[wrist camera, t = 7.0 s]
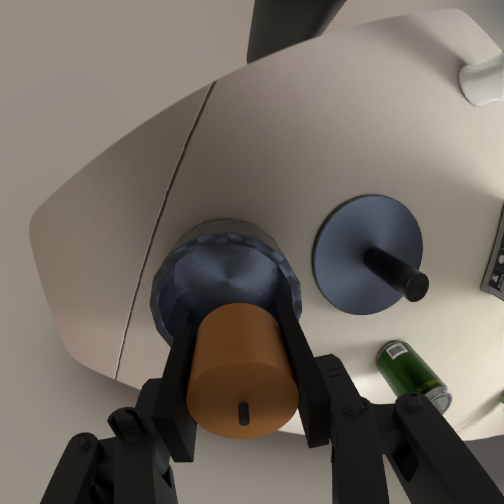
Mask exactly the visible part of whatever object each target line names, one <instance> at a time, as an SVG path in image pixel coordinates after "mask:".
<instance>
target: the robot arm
mask: <svg viewBox="0 0 504 504" xmlns="http://www.w3.org/2000/svg"><path fill="white" fill-rule="evenodd" d="M279 322H280V331H281V335H282V338H283V341H284V344H285V347H286V351H287V354H288V357H289V360H290V363H291V367H292V370H293V373H294V376H295V379H296V383H297V386H298V389H299V405H298V411H299V414H300V418H301V421H302V425H303V428H304V432H305V435H306V439H307V442H308V446H309V448H314V447H318V446H323V445H327V444H329V438H330V441H331V443H332V454H331V463H332V486H333V487H332V499H333V501H332V502H333V503H332V504H389V496H388V489H387V483H386V476H385V470H384V464H383V458H382V455H383V454H385V455H386V457H387V458H388V460H389V462H390V464H391V466H392V468H393V470H394V471H395V474H396V475H397V477H398V479H399V481H400V483H401V485H402V487H403V489H404V491H405V492H406V494H407V496H408V498H409V500H410V502H411V504H504V496H503V494H502V493H501V492H500V490H499V489H498V487H497V486H496V485H495V483H494V482H493V481H492V479H491V478H490V477H489V475H488V474H487V472H486V471H485V470H484V469H483V467H482V466H481V464H480V463H479V462H478V460H477V459H476V458H475V457H474V455H473V454H472V453H471V451H470V450H469V449H468V448H467V446H466V445H465V444H464V442H463V441H462V440H461V438H460V437H459V436H458V435H457V433H456V432H455V431H454V429H453V428H452V427H451V426H450V424H449V423H448V422H447V421H446V419H445V418H444V417H443V416H442V414H441V413H440V412H439V411H438V409H437V408H436V407H435V406H434V405H433V403H432V402H431V401H430V400H429V398H428V397H426V396H425V395H424V394H421V393H419V392H408V393H404V394H402V395H400V396H399V397H398V398H397V399H396V401H395V403H394V404H373V403H370V401H369V400H367V399H366V398H364V397H361V396H360V394H359V392H358V391H357V389H356V387H355V385H354V383H353V382H352V380H351V378H350V376H349V374H348V373H347V371H346V369H345V368H344V365H343V364H342V362H341V360H340V359H339V358H338V357H336V356H335V355H333V354H328V355H323V356H319V357H314V356H313V354H312V352H311V349H310V347H309V345H308V343H307V340H306V338H305V336H304V333H303V331H302V329H301V327H300V324H299V322H298V320H297V318H296V315H295V313H294V311H293V310H292V311H286V312H280V313H279ZM195 343H196V339H195V335H194V331H193V327H192V325H188V326H179V327H177V330H176V334H175V337H174V340H173V343H172V346H171V350H170V353H169V356H168V359H167V363H166V366H165V369H164V373H163V376H162V378H155V379H149V380H148V381H147V382H146V383H145V384H144V385H143V386H142V389H141V392H140V396H139V397H138V400H137V401H138V402H137V403H136V406H135V408H133V407H124V408H120V409H117V410H116V411H114V412H113V413H112V414H111V415H110V416H109V418H108V420H107V422H108V423H109V425H110V427H111V429H112V430H113V432H114V434H115V435H116V436H115V437H112V438H107V439H102V440H98V439H97V438H96V437H95V436H94V435H93V434H91V433H88V432H87V433H86V432H85V433H80V434H77V435H75V436H74V437H72V439H71V440H70V441H69V443H68V445H67V447H66V449H65V451H64V453H63V455H62V457H61V459H60V461H59V463H58V465H57V467H56V469H55V471H54V474H53V476H52V478H51V480H50V482H49V485H48V487H47V489H46V491H45V494H44V496H43V498H42V500H41V502H40V504H178V501H177V495H176V489H175V483H174V477H173V471H172V468H171V466H170V465H169V460H170V455H171V457H172V459H173V461H174V462H193V460H194V449H195V438H196V428H197V422H196V421H195V420H194V419H193V418H192V416H191V415H190V413H189V411H188V408H187V405H186V393H187V388H188V382H189V376H190V371H191V365H192V360H193V354H194V349H195Z"/></svg>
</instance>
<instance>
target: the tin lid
mask: <svg viewBox="0 0 504 504" xmlns="http://www.w3.org/2000/svg"><path fill="white" fill-rule="evenodd" d="M422 252H423V243H422V236H421V232H420V228H419V226H418V223H417V221H416V219H415V218H414V216H413V215H412V213H411V212H410V211H409V210H408V209H407V208H406V207H405V206H404V205H403V204H401V203H400V202H398V201H396V200H394V199H392V198H389V197H386V196H380V195H367V196H361V197H358V198H355V199H353V200H351V201H349V202H347V203H346V204H344V205H343V206H341V207H340V208H339V209H338V210H336V211H335V212H334V213H333V214H332V216H331V217H330V218H329V219H328V220H327V222H326V223H325V225H324V226H323V228H322V230H321V232H320V234H319V237H318V239H317V242H316V246H315V250H314V258H313V266H314V274H315V278H316V282H317V284H318V286H319V289H320V290H321V292H322V294H323V295H324V297H325V298H326V299H327V300H328V301H329V302H330V303H331V304H332V305H333V306H334V307H336V308H338V309H339V310H341V311H344V312H346V313H350V314H354V315H368V314H374V313H377V312H380V311H382V310H385V309H387V308H388V307H390V306H392V305H393V304H394V303H396V302H397V301H398V300H399V299H400V298H402V297H403V296H404V297H405V298H406V299H407V300H409V301H411V302H417V301H419V300H421V299H422V298H423V297H424V296H425V295H426V293H427V291H428V288H429V280H428V277H427V276H426V275H425V274H423V273H422V272H420V271H419V268H420V265H421V260H422Z"/></svg>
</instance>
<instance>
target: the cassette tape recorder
mask: <svg viewBox="0 0 504 504" xmlns="http://www.w3.org/2000/svg"><path fill="white" fill-rule="evenodd" d="M480 290H482V291H484V292H486V293H490V294H492V295H494V296H496V297H497V298H499V299H501V300H502V301H504V210H503V214H502V219H501V223H500V227H499V231H498V235H497V239H496V242H495V246H494V250H493V253H492V256H491V259H490V263H489V266H488V269H487V272H486V275H485V278H484V281H483V283H482V285H481V289H480Z"/></svg>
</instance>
